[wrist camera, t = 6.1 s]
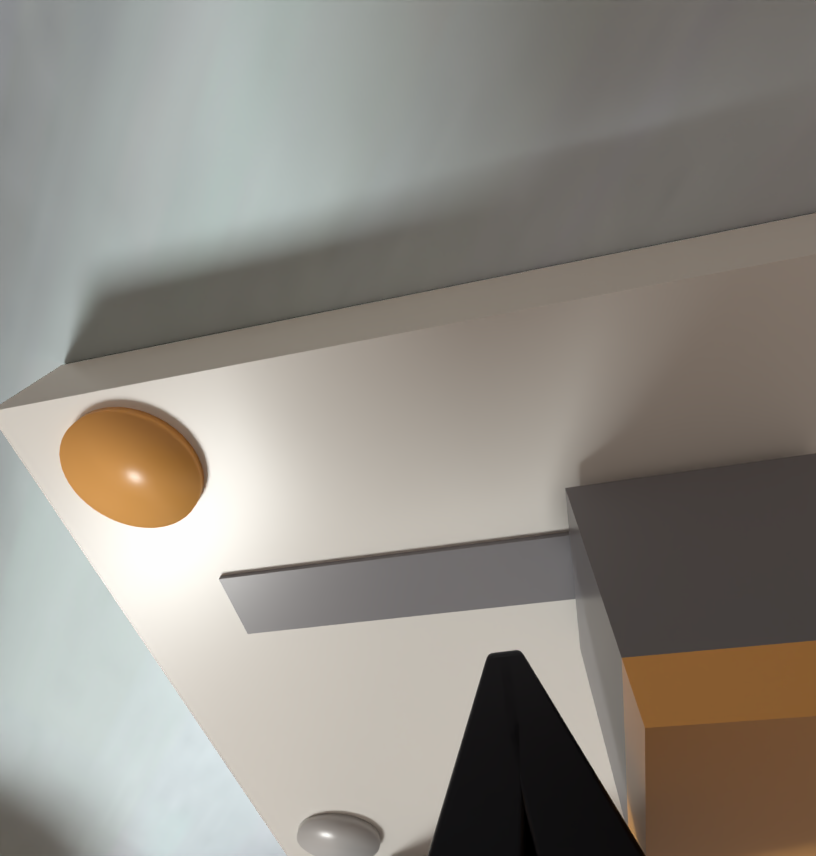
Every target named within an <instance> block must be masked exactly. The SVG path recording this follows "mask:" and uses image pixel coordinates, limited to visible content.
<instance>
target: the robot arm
mask: <svg viewBox="0 0 816 856" xmlns="http://www.w3.org/2000/svg"><path fill="white" fill-rule="evenodd" d="M427 856H646V855H645V854H644V852H643V850H642V849H641V847H640V845H639V844H638V842H637V840H636V839H635V837H634V835H633V834H632V832H631V831H630V829H629V827H628V826H627V824H626V822H625V821H624V819H623V817H622V816H621V814H620V812H619V811H618V809H617V807H616V806H615V804H614V802H613V801H612V799H611V798H610V796H609V794H608V793H607V791H606V789H605V788H604V786H603V784H602V783H601V781H600V779H599V778H598V776H597V774H596V773H595V771H594V769H593V768H592V766H591V765H590V763H589V761H588V760H587V758H586V756H585V755H584V753H583V751H582V750H581V748H580V746H579V745H578V743H577V741H576V740H575V738H574V736H573V735H572V733H571V732H570V730H569V728H568V727H567V725H566V723H565V722H564V720H563V718H562V717H561V715H560V713H559V712H558V710H557V708H556V707H555V705H554V703H553V702H552V700H551V699H550V697H549V695H548V694H547V692H546V690H545V689H544V687H543V685H542V684H541V682H540V680H539V679H538V677H537V675H536V674H535V672H534V670H533V669H532V667H531V666H530V664H529V662H528V661H527V659H526V657H525V656H524V654H523V653H522V652H521V651H519V650H512V651H503V652H495V653H490V654H489V655H488V656H487V658H486V661H485V664H484V668H483V671H482V674H481V678H480V681H479V684H478V688H477V691H476V694H475V698H474V701H473V704H472V708H471V711H470V714H469V718H468V721H467V725H466V728H465V731H464V735H463V738H462V741H461V745H460V748H459V751H458V755H457V758H456V761H455V765H454V768H453V771H452V775H451V778H450V781H449V785H448V788H447V792H446V795H445V798H444V802H443V805H442V808H441V812H440V815H439V818H438V822H437V825H436V828H435V832H434V835H433V838H432V842H431V845H430V848H429V852H428V855H427Z"/></svg>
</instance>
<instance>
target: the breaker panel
mask: <svg viewBox="0 0 816 856" xmlns="http://www.w3.org/2000/svg"><path fill="white" fill-rule="evenodd" d="M0 429H1V431H2V432H3V434H4V435H5V437H6V438H7V440H8V441H9V443H10V444H11V446H12V447H13V449H14V450H15V452H16V453H17V455H18V456H19V458H20V459H21V461H22V462H23V464H24V465H25V467H26V468H27V470H28V471H29V473H30V474H31V476H32V477H33V479H34V480H35V481H36V483H37V484H38V486H39V487H40V489H41V490H42V492H43V493H44V495H45V496H46V498H47V499H48V501H49V502H50V504H51V505H52V507H53V508H54V510H55V511H56V513H57V514H58V516H59V517H60V519H61V520H62V522H63V523H64V525H65V526H66V528H67V529H68V531H69V532H70V534H71V535H72V537H73V538H74V539H75V541H76V542H77V544H78V545H79V547H80V548H81V550H82V551H83V553H84V554H85V556H86V557H87V559H88V560H89V562H90V563H91V565H92V566H93V568H94V569H95V571H96V572H97V574H98V575H99V577H100V578H101V580H102V581H103V583H104V584H105V586H106V587H107V589H108V590H109V592H110V593H111V594H112V596H113V597H114V599H115V600H116V602H117V603H118V605H119V606H120V608H121V609H122V611H123V612H124V614H125V615H126V617H127V618H128V620H129V621H130V623H131V624H132V626H133V627H134V629H135V630H136V632H137V633H138V635H139V636H140V638H141V639H142V641H143V642H144V644H145V645H146V647H147V648H148V649H149V651H150V652H151V654H152V655H153V657H154V658H155V660H156V661H157V663H158V664H159V666H160V667H161V669H162V670H163V672H164V673H165V675H166V676H167V678H168V679H169V681H170V682H171V684H172V685H173V687H174V688H175V690H176V691H177V693H178V694H179V696H180V697H181V699H182V700H183V702H184V703H185V704H186V706H187V707H188V709H189V710H190V712H191V713H192V715H193V716H194V718H195V719H196V721H197V722H198V724H199V725H200V727H201V728H202V730H203V731H204V733H205V734H206V736H207V737H208V739H209V740H210V742H211V743H212V745H213V746H214V748H215V749H216V751H217V752H218V754H219V755H220V757H221V758H222V760H223V761H224V762H225V764H226V765H227V767H228V768H229V770H230V771H231V773H232V774H233V776H234V777H235V779H236V780H237V782H238V783H239V785H240V786H241V788H242V789H243V791H244V792H245V794H246V795H247V797H248V798H249V800H250V801H251V803H252V804H253V806H254V807H255V809H256V810H257V812H258V813H259V815H260V816H261V817H262V819H263V820H264V822H265V823H266V825H267V826H268V828H269V829H270V831H271V832H272V834H273V835H274V837H275V838H276V840H277V841H278V843H279V844H280V846H281V847H282V849H283V850H284V852H285V853H286V855H287V856H427V855H428V852H429V848H430V845H431V842H432V838H433V835H434V832H435V828H436V825H437V822H438V818H439V815H440V812H441V808H442V805H443V802H444V798H445V795H446V792H447V788H448V785H449V781H450V778H451V775H452V771H453V768H454V765H455V761H456V758H457V755H458V751H459V748H460V745H461V741H462V738H463V735H464V731H465V728H466V725H467V721H468V718H469V714H470V711H471V708H472V704H473V701H474V698H475V694H476V691H477V688H478V684H479V681H480V678H481V674H482V671H483V668H484V664H485V661H486V658H487V656H488V655H489V654H490V653H495V652H503V651H512V650H519V651H521V652H522V653H523V654H524V656H525V657H526V659H527V661H528V662H529V664H530V666H531V667H532V669H533V670H534V672H535V674H536V675H537V677H538V679H539V680H540V682H541V684H542V685H543V687H544V689H545V690H546V692H547V694H548V695H549V697H550V699H551V700H552V702H553V703H554V705H555V707H556V708H557V710H558V712H559V713H560V715H561V717H562V718H563V720H564V722H565V723H566V725H567V727H568V728H569V730H570V732H571V733H572V735H573V736H574V738H575V740H576V741H577V743H578V745H579V746H580V748H581V750H582V751H583V753H584V755H585V756H586V758H587V760H588V761H589V763H590V765H591V766H592V768H593V769H594V771H595V773H596V774H597V776H598V778H599V779H600V781H601V783H602V784H603V786H604V788H605V789H606V791H607V793H608V794H609V796H610V798H611V799H612V801H613V802H614V804H615V806H616V807H617V809H618V811H619V812H620V814H621V816H622V817H623V819H624V816H623V812H622V808H621V804H620V800H619V797H618V793H617V789H616V785H615V781H614V777H613V773H612V770H611V766H610V762H609V758H608V754H607V750H606V746H605V743H604V739H603V735H602V731H601V727H600V723H599V720H598V716H597V712H596V708H595V704H594V700H593V696H592V693H591V689H590V685H589V681H588V677H587V673H586V669H585V666H584V662H583V658H582V654H581V650H580V641H579V630H578V620H577V609H576V598H575V588H574V577H573V566H572V556H571V545H570V534H569V524H568V513H567V502H566V492H565V488H569V487H576V486H583V485H590V484H597V483H605V482H612V481H619V480H626V479H634V478H641V477H648V476H655V475H662V474H670V473H677V472H684V471H691V470H699V469H706V468H713V467H720V466H727V465H735V464H742V463H749V462H756V461H764V460H771V459H778V458H785V457H792V456H800V455H807V454H814V453H816V213H813V214H808V215H803V216H798V217H793V218H788V219H783V220H778V221H773V222H768V223H763V224H758V225H753V226H749V227H744V228H739V229H734V230H729V231H724V232H719V233H714V234H709V235H704V236H699V237H694V238H689V239H684V240H679V241H674V242H669V243H664V244H659V245H654V246H649V247H644V248H639V249H634V250H629V251H625V252H620V253H615V254H610V255H605V256H600V257H595V258H590V259H585V260H580V261H575V262H570V263H565V264H560V265H555V266H550V267H545V268H540V269H535V270H530V271H525V272H520V273H515V274H510V275H506V276H501V277H496V278H491V279H486V280H481V281H476V282H471V283H466V284H461V285H456V286H451V287H446V288H441V289H436V290H431V291H426V292H421V293H416V294H411V295H406V296H401V297H396V298H391V299H386V300H382V301H377V302H372V303H367V304H362V305H357V306H352V307H347V308H342V309H337V310H332V311H327V312H322V313H317V314H312V315H307V316H302V317H297V318H292V319H287V320H282V321H277V322H272V323H267V324H262V325H258V326H253V327H248V328H243V329H238V330H233V331H228V332H223V333H218V334H213V335H208V336H203V337H198V338H193V339H188V340H183V341H178V342H173V343H168V344H163V345H158V346H153V347H148V348H143V349H139V350H134V351H129V352H124V353H119V354H114V355H109V356H104V357H99V358H94V359H89V360H84V361H79V362H74V363H69V364H64V365H61V366H59V367H58V368H56V369H55V370H53V371H52V372H50V373H49V374H47V375H45V376H44V377H42V378H41V379H39V380H38V381H36V382H34V383H33V384H31V385H30V386H28V387H27V388H25V389H24V390H22V391H20V392H19V393H17V394H16V395H14V396H13V397H11V398H10V399H8V400H6V401H5V402H3V403H2V404H0ZM624 821H625V820H624Z"/></svg>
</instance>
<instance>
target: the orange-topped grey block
mask: <svg viewBox="0 0 816 856" xmlns="http://www.w3.org/2000/svg"><path fill="white" fill-rule="evenodd" d="M565 492H566V502H567V513H568V524H569V534H570V545H571V556H572V566H573V577H574V588H575V598H576V609H577V620H578V630H579V641H580V650H581V654H582V658H583V662H584V666H585V669H586V673H587V677H588V681H589V685H590V689H591V693H592V696H593V700H594V704H595V708H596V712H597V716H598V720H599V723H600V727H601V731H602V735H603V739H604V743H605V746H606V750H607V754H608V758H609V762H610V766H611V770H612V773H613V777H614V781H615V785H616V789H617V793H618V797H619V800H620V804H621V808H622V812H623V816H624V820H625V822H626V824H627V826H628V827H629V829H630V831H631V832H632V834H633V835H634V837H635V839H636V840H637V842H638V844H639V845H640V847H641V849H642V850H643V852H644V854H645V855H646V856H816V453H814V454H807V455H800V456H792V457H785V458H778V459H771V460H764V461H756V462H749V463H742V464H735V465H727V466H720V467H713V468H706V469H699V470H691V471H684V472H677V473H670V474H662V475H655V476H648V477H641V478H634V479H626V480H619V481H612V482H605V483H597V484H590V485H583V486H576V487H569V488H565Z"/></svg>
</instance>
